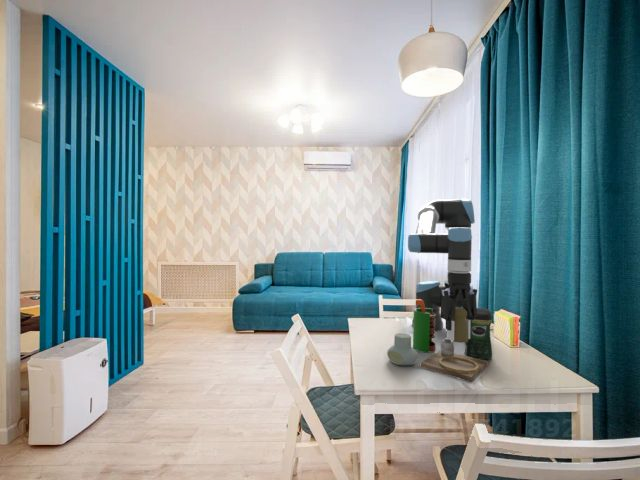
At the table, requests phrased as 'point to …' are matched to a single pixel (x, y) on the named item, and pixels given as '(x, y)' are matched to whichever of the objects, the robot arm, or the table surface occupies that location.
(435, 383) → the table surface
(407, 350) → the air freshener
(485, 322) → the coffee jar
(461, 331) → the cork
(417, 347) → the motor
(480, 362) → the carrier board
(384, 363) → the table surface
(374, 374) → the table surface
